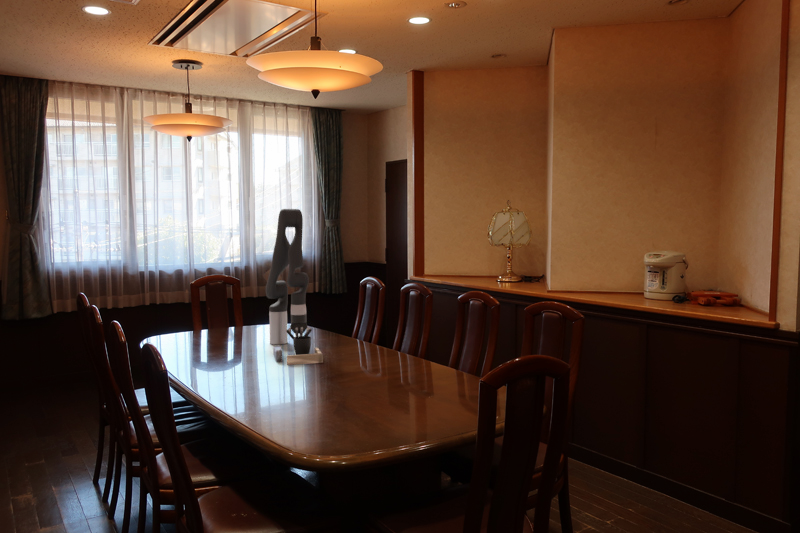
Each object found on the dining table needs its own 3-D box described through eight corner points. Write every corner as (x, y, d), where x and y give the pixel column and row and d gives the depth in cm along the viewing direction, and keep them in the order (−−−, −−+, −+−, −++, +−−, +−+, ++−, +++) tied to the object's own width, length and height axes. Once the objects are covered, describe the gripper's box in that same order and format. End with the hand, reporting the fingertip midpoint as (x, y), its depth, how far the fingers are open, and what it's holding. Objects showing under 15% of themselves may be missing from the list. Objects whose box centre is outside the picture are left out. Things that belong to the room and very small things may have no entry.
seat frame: (284, 357, 282) (284, 349, 282) (318, 355, 286) (318, 347, 286) (287, 364, 268) (287, 356, 268) (322, 362, 272) (322, 353, 272)
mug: (306, 353, 292) (305, 334, 292) (313, 358, 281) (313, 338, 281) (289, 354, 289) (289, 335, 288) (296, 359, 278) (295, 339, 277)
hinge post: (276, 361, 275) (276, 350, 275) (281, 360, 276) (281, 349, 276) (276, 362, 273) (276, 351, 273) (282, 362, 274) (281, 350, 273)
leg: (282, 360, 276) (282, 351, 276) (275, 360, 275) (275, 351, 275) (280, 353, 290) (280, 345, 289) (273, 354, 289) (273, 345, 289)
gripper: (311, 311, 299) (311, 345, 300) (284, 312, 295) (285, 347, 296) (313, 313, 292) (313, 348, 293) (285, 315, 288) (286, 350, 289)
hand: (299, 348), depth 295 cm, fingers closed
